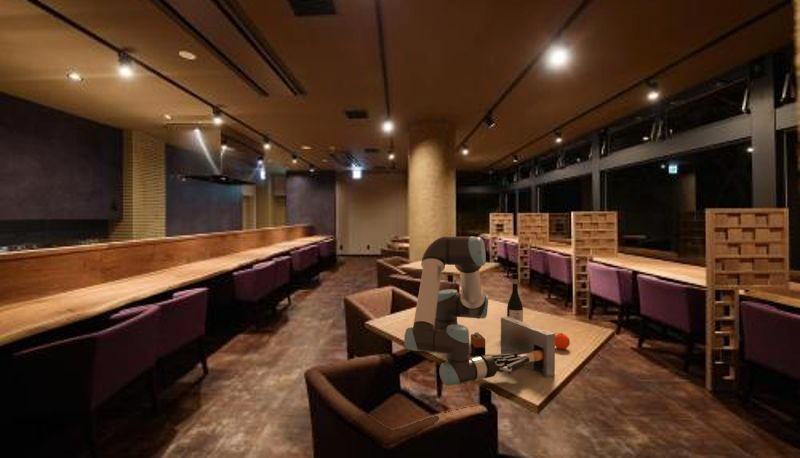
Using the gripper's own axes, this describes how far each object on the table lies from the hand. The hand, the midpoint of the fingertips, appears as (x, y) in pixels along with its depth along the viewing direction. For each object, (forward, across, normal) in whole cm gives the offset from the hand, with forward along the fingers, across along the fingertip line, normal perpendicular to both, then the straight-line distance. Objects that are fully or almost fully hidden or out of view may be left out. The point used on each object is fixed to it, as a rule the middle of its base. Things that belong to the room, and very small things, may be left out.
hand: (532, 356), depth 137 cm
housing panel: (+5, -9, -7) cm, 12 cm away
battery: (-9, -22, -7) cm, 25 cm away
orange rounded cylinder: (+3, 0, -2) cm, 3 cm away
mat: (-9, -22, -7) cm, 25 cm away
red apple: (+32, -16, -7) cm, 37 cm away
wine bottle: (+32, -46, -7) cm, 57 cm away
